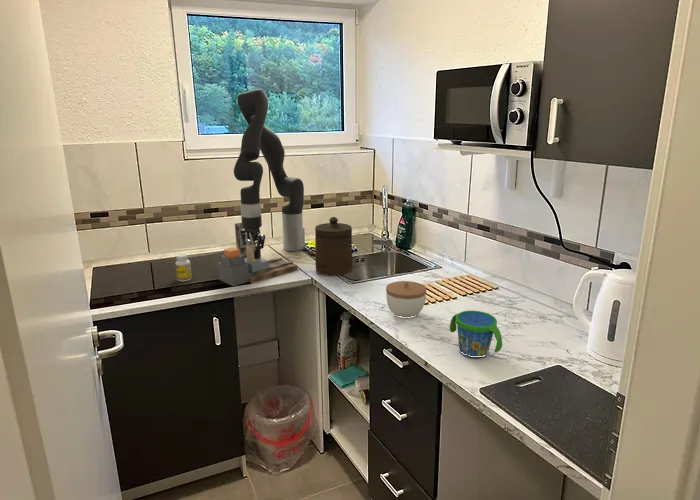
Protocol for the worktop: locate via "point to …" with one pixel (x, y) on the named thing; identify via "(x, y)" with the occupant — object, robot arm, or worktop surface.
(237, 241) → the coffee box
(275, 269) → the rail bed
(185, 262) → the supplement bottle
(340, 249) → the wooden container
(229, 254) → the button
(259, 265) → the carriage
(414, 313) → the lidded bowl
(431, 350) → the worktop surface
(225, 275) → the cabinet
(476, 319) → the snack cup
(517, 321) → the worktop surface
